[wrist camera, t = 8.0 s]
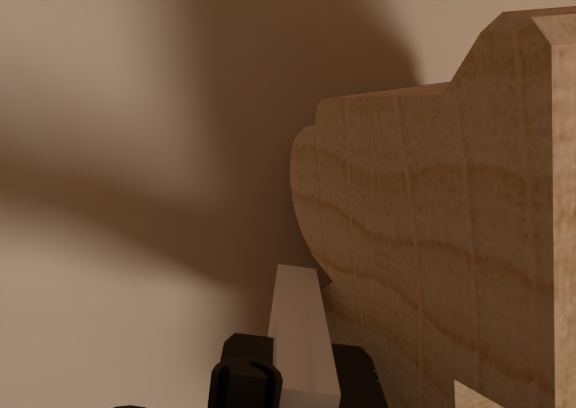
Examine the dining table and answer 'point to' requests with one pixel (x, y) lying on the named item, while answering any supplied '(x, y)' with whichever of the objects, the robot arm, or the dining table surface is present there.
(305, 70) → the dining table surface
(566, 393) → the carved wooden block
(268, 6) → the dining table surface
